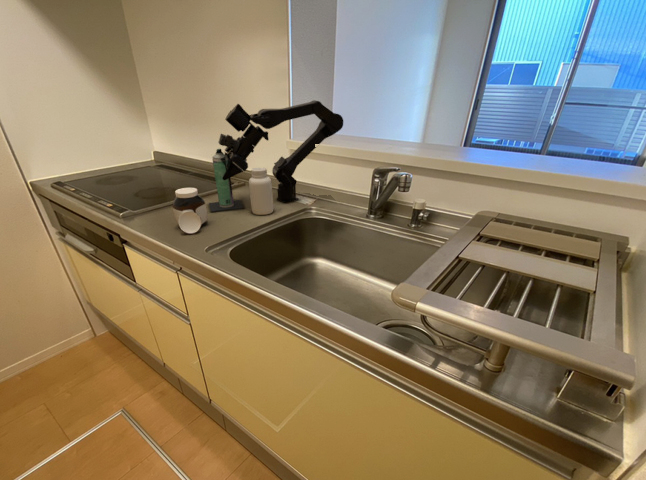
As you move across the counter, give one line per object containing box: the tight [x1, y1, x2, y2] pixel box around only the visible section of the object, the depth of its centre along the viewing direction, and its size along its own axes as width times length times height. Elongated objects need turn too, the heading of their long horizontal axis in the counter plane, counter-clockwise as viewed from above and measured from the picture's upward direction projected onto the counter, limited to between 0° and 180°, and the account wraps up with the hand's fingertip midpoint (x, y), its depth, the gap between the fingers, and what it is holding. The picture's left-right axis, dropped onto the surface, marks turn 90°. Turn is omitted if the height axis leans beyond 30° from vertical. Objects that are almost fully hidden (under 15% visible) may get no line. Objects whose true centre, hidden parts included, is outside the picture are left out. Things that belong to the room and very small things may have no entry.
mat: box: [208, 199, 245, 213], centre depth 130 cm, size 12×10×1 cm
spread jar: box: [172, 187, 208, 234], centre depth 110 cm, size 12×11×12 cm
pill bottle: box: [248, 167, 274, 216], centre depth 121 cm, size 8×8×15 cm
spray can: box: [211, 148, 234, 208], centre depth 125 cm, size 6×6×20 cm
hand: (221, 176), depth 124 cm, fingers open, 9 cm apart
